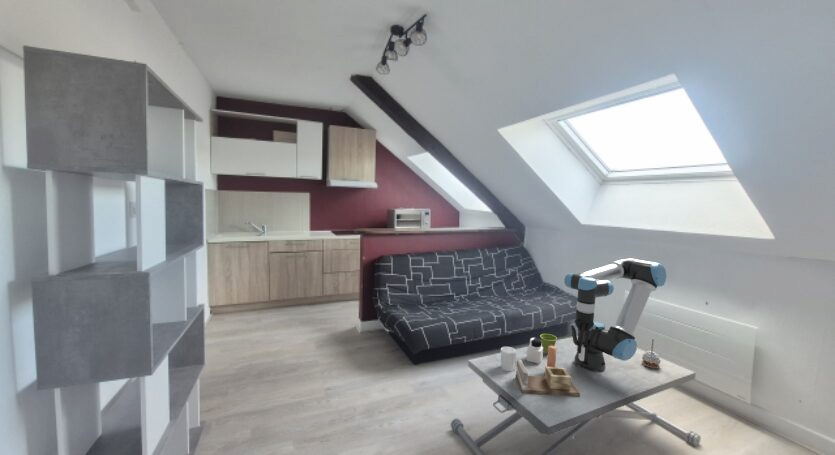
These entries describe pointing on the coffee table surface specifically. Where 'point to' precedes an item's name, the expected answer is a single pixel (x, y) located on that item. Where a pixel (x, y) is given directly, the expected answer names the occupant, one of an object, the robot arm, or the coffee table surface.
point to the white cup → (508, 358)
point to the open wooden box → (557, 378)
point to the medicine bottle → (535, 351)
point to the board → (539, 383)
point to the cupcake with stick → (651, 358)
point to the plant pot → (547, 341)
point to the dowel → (551, 356)
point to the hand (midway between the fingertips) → (581, 359)
